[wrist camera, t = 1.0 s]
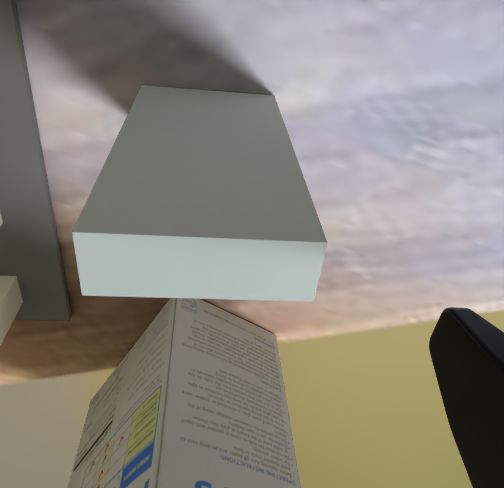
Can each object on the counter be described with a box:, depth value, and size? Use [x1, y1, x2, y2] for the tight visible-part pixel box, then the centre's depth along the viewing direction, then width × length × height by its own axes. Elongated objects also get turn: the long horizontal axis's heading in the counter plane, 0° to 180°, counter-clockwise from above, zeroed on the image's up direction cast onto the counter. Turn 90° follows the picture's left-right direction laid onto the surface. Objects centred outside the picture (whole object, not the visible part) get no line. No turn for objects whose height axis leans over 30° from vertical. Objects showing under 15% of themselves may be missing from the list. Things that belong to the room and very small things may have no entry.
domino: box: [72, 85, 327, 302], centre depth 13 cm, size 2×5×10 cm, turn 85°
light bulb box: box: [68, 298, 301, 488], centre depth 21 cm, size 11×7×11 cm, turn 145°
